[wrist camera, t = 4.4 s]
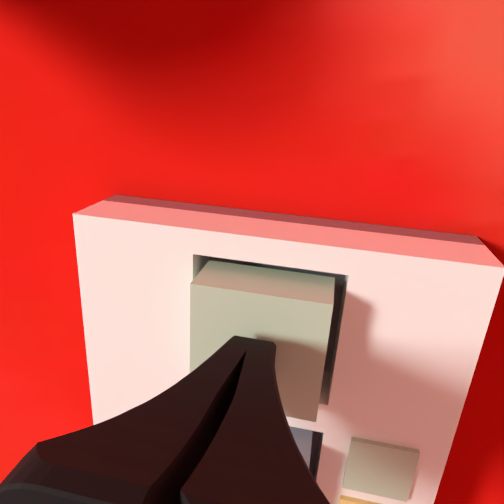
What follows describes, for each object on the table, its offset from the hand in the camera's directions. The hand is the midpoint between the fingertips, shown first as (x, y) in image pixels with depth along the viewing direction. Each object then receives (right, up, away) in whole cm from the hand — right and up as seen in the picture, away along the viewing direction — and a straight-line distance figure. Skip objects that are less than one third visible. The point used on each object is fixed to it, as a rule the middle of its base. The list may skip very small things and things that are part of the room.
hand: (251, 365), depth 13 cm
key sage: (0, +1, +2) cm, 3 cm away
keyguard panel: (+1, -4, +7) cm, 8 cm away
